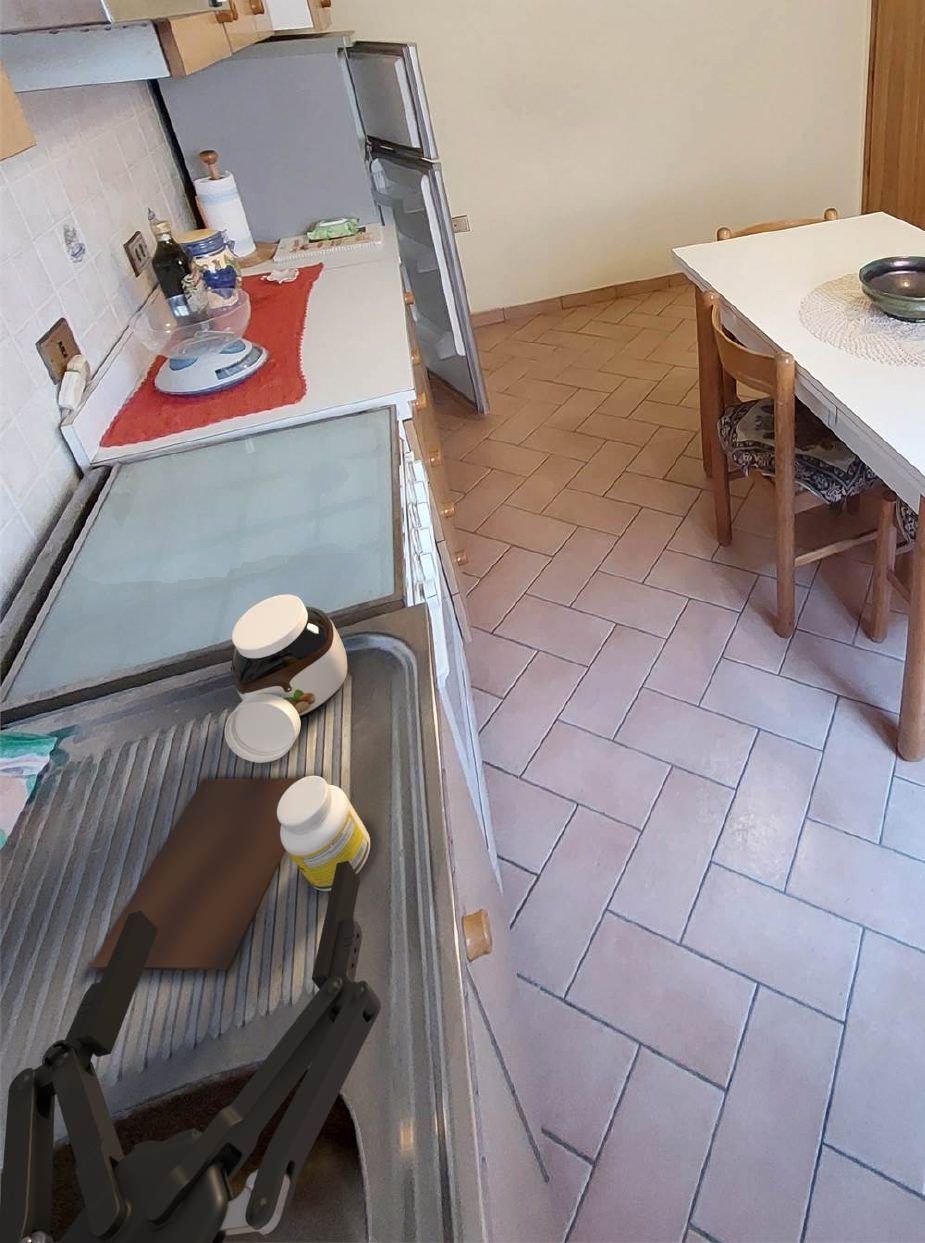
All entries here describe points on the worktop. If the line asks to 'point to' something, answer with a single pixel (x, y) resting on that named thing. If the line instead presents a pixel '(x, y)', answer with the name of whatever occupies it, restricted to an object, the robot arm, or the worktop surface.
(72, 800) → the worktop surface
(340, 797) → the supplement bottle
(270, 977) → the worktop surface
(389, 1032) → the worktop surface
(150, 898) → the runner mat
